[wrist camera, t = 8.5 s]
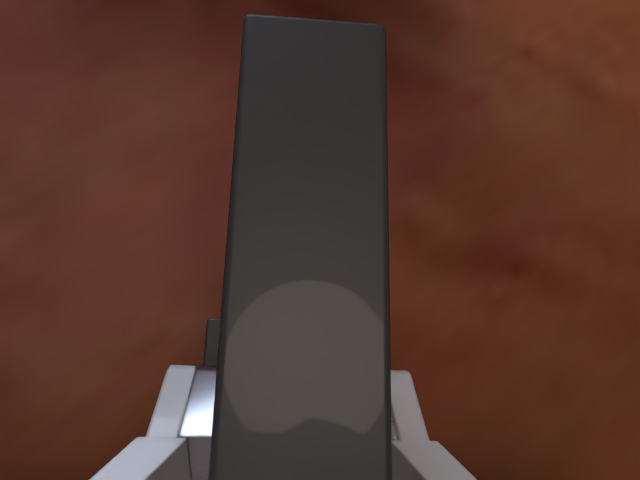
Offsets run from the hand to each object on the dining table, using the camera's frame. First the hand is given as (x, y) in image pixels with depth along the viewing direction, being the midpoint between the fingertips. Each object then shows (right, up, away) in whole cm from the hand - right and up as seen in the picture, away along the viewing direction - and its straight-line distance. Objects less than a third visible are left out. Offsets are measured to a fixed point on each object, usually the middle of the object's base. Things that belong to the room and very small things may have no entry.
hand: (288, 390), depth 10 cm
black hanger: (-1, -1, +7) cm, 7 cm away
